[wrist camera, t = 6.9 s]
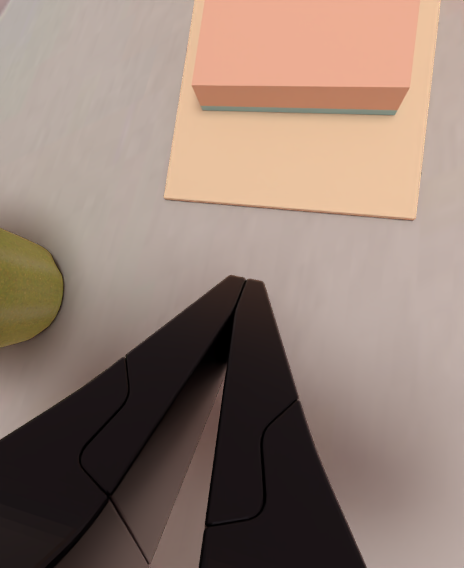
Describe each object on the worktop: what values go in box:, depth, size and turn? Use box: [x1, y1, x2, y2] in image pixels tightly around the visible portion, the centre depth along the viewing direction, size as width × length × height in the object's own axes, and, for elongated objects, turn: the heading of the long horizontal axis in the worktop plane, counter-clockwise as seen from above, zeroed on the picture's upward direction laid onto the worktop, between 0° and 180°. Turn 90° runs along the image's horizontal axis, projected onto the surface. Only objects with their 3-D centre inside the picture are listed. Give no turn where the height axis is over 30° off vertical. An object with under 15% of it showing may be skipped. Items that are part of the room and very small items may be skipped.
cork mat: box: [164, 0, 441, 220], centre depth 17 cm, size 16×13×1 cm
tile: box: [192, 0, 420, 115], centre depth 16 cm, size 2×10×10 cm
